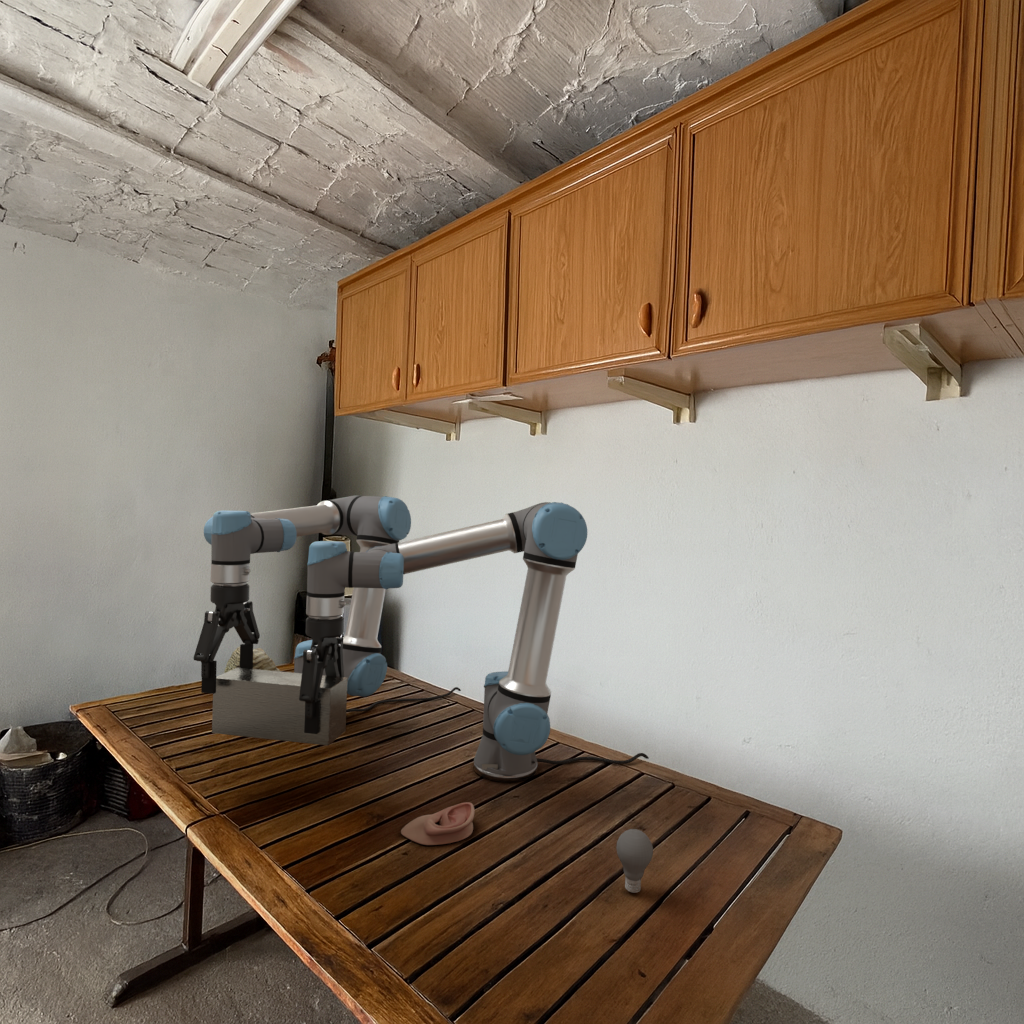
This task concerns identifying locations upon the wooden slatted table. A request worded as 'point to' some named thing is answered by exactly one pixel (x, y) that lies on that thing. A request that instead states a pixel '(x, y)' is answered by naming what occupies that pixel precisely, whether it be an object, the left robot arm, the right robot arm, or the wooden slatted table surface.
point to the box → (276, 706)
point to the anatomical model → (442, 825)
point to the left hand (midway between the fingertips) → (228, 682)
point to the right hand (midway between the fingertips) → (321, 724)
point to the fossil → (259, 661)
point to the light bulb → (634, 857)
